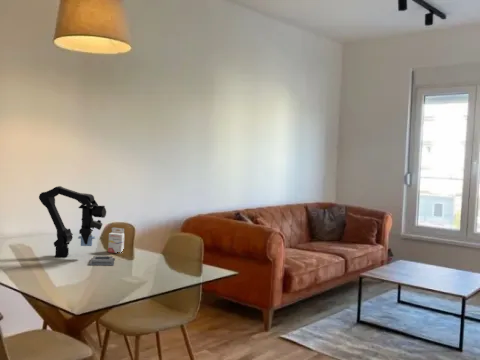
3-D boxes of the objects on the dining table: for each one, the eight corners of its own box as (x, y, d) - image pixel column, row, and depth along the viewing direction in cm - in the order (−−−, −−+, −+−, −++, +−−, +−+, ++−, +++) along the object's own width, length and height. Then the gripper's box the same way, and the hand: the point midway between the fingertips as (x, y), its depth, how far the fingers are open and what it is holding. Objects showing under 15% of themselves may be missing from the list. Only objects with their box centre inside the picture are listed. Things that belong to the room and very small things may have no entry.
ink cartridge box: (107, 252, 306) (108, 228, 305) (110, 250, 311) (111, 227, 310) (121, 253, 306) (122, 229, 304) (124, 251, 310) (124, 228, 309)
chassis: (89, 265, 274) (89, 260, 274) (91, 259, 287) (91, 255, 287) (113, 265, 277) (113, 261, 277) (114, 259, 289) (115, 255, 289)
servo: (77, 245, 285) (78, 234, 285) (78, 244, 289) (79, 233, 289) (94, 246, 287) (94, 235, 287) (94, 244, 291) (95, 233, 290)
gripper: (100, 219, 279) (99, 247, 280) (103, 214, 298) (102, 240, 299) (79, 218, 277) (78, 246, 278) (83, 213, 295) (82, 240, 297)
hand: (86, 243), depth 288 cm, fingers closed on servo, 4 cm apart
